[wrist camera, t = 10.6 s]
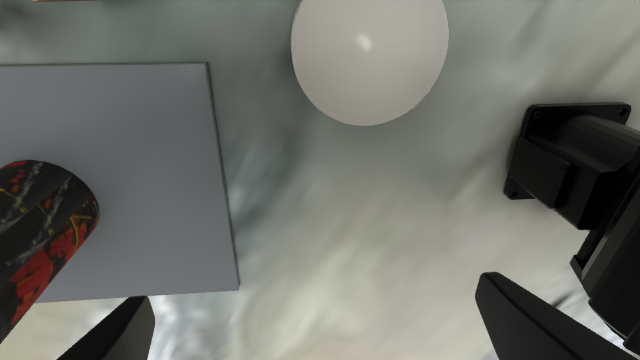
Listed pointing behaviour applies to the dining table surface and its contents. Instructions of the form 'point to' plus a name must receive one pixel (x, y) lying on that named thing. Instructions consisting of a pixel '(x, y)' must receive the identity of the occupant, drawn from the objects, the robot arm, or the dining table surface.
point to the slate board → (129, 172)
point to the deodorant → (38, 231)
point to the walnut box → (57, 0)
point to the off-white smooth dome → (368, 55)
